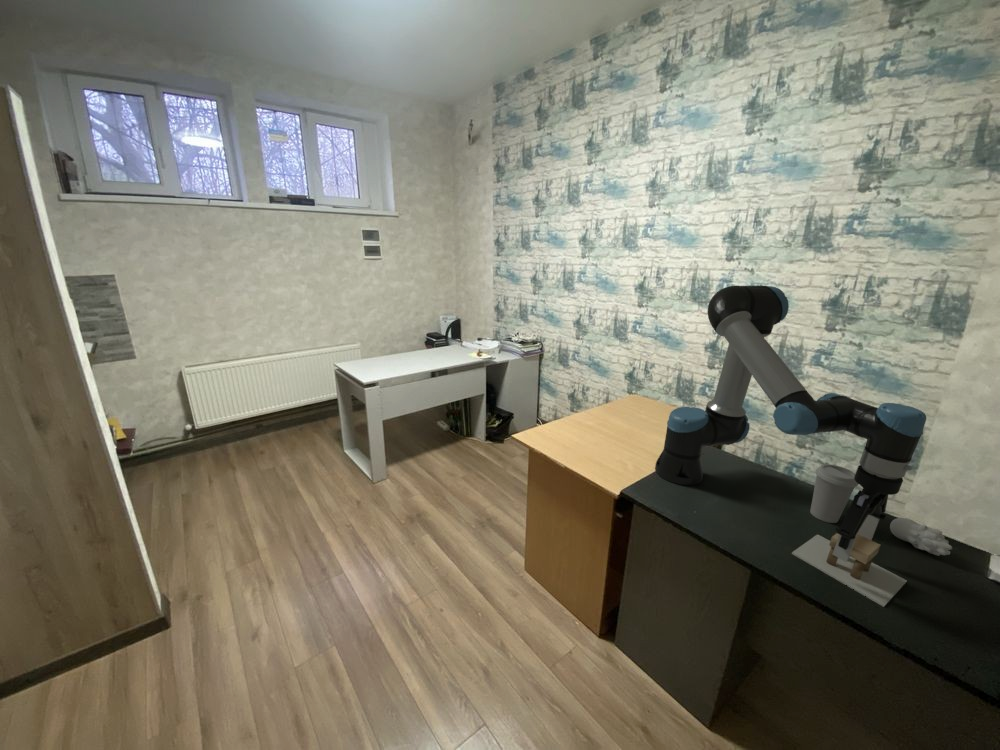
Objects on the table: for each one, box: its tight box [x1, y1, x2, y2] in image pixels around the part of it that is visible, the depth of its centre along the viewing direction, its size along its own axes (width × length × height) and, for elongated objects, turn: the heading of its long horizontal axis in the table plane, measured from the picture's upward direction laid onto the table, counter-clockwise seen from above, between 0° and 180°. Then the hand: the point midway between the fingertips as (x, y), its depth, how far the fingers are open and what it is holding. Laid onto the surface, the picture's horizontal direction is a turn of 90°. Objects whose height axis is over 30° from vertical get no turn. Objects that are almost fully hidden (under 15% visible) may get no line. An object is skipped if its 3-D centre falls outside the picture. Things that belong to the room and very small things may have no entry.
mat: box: [791, 534, 908, 608], centre depth 95 cm, size 18×14×1 cm
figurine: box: [889, 517, 953, 556], centre depth 102 cm, size 7×7×12 cm
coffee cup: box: [809, 463, 859, 524], centre depth 112 cm, size 10×10×15 cm
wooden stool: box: [826, 532, 881, 579], centre depth 94 cm, size 7×7×8 cm
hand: (852, 547), depth 94 cm, fingers open, 13 cm apart
